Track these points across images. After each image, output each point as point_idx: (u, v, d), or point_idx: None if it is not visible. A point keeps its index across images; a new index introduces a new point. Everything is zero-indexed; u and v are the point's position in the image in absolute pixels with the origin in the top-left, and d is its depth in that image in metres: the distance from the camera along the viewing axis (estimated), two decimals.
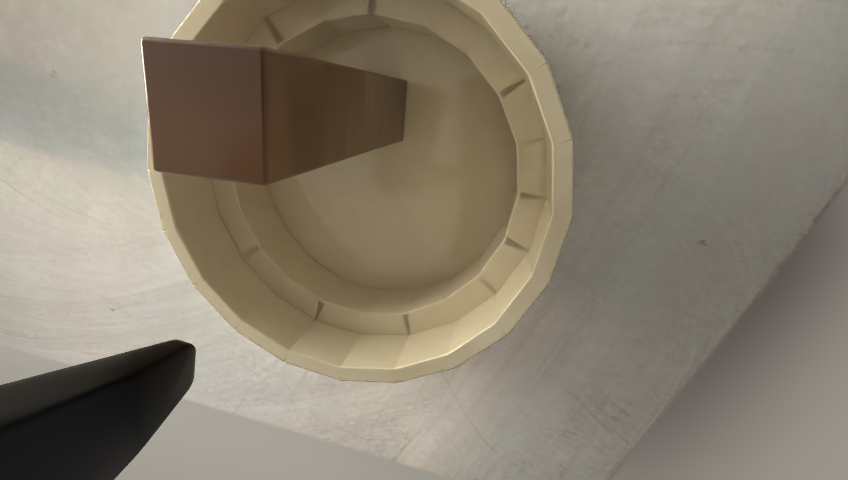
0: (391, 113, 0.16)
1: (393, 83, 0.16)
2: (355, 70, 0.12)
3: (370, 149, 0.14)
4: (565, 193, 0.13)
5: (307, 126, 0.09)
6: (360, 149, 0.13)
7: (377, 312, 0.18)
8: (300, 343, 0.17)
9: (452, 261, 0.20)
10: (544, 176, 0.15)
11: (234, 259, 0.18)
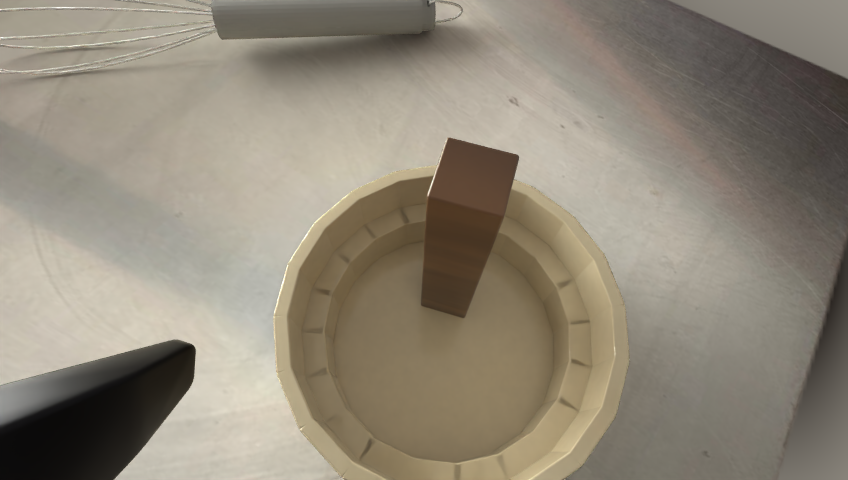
0: None
1: None
2: None
3: (476, 287, 0.19)
4: (623, 341, 0.18)
5: None
6: (480, 276, 0.18)
7: (428, 459, 0.18)
8: (358, 463, 0.16)
9: (492, 435, 0.21)
10: (589, 349, 0.20)
11: (301, 375, 0.19)
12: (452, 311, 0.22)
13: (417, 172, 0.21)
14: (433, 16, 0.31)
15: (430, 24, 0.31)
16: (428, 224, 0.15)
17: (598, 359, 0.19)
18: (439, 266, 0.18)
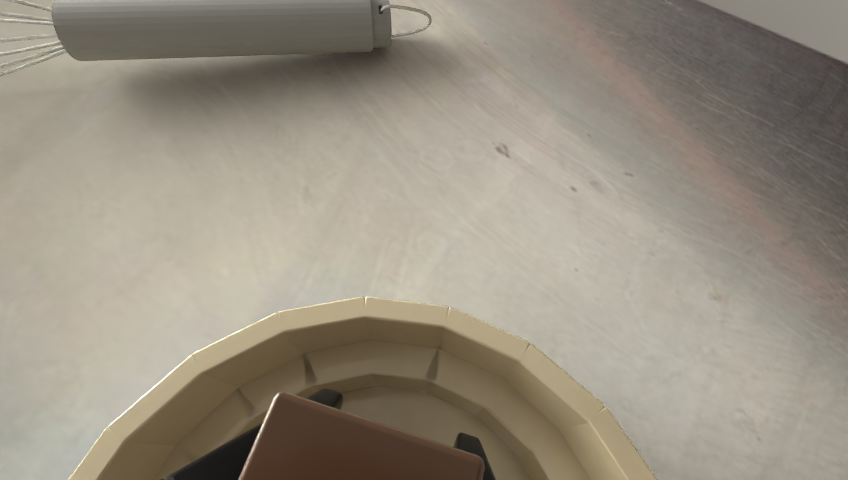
0: None
1: None
2: None
3: None
4: None
5: None
6: None
7: None
8: None
9: None
10: None
11: None
12: None
13: (318, 313, 0.11)
14: (388, 28, 0.22)
15: (385, 39, 0.22)
16: None
17: None
18: None
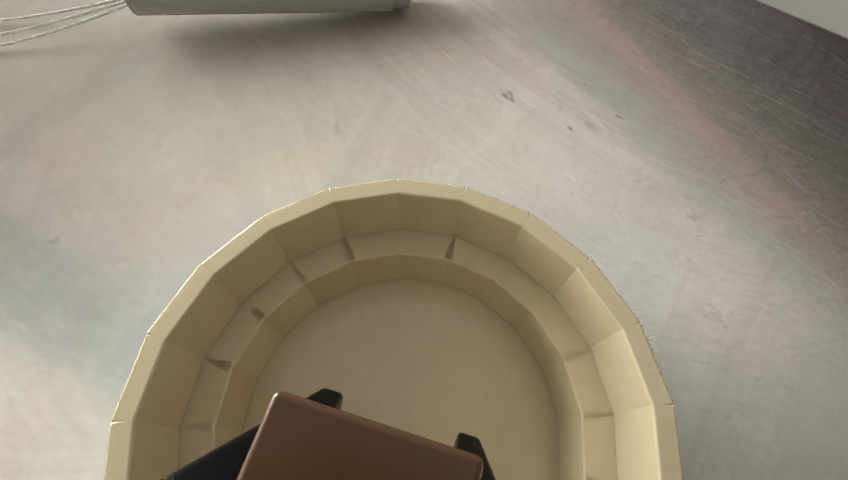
0: None
1: None
2: None
3: None
4: (673, 469, 0.11)
5: None
6: None
7: None
8: None
9: None
10: (613, 460, 0.13)
11: None
12: None
13: (361, 190, 0.14)
14: None
15: None
16: None
17: None
18: None
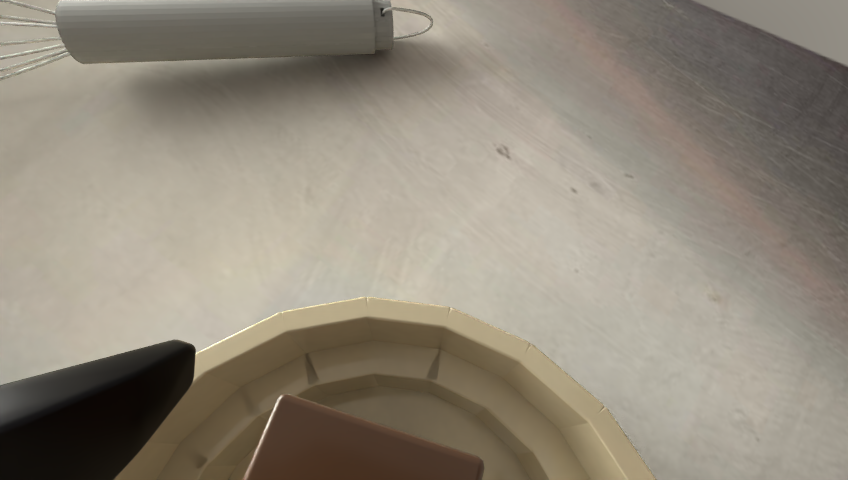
0: None
1: None
2: None
3: None
4: None
5: None
6: None
7: None
8: None
9: None
10: None
11: None
12: None
13: (321, 313, 0.11)
14: (390, 30, 0.22)
15: (387, 41, 0.22)
16: None
17: None
18: None
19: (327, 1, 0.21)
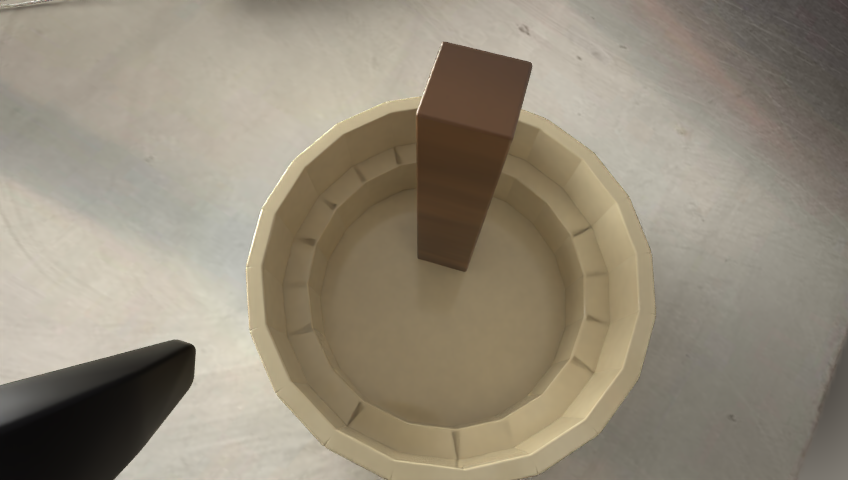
0: None
1: None
2: None
3: None
4: (648, 294, 0.15)
5: None
6: (483, 221, 0.15)
7: (424, 425, 0.16)
8: (344, 430, 0.14)
9: (496, 398, 0.19)
10: (607, 304, 0.18)
11: (281, 333, 0.17)
12: (452, 264, 0.20)
13: (411, 102, 0.18)
14: None
15: None
16: (420, 154, 0.12)
17: (617, 315, 0.17)
18: (435, 209, 0.15)
19: None
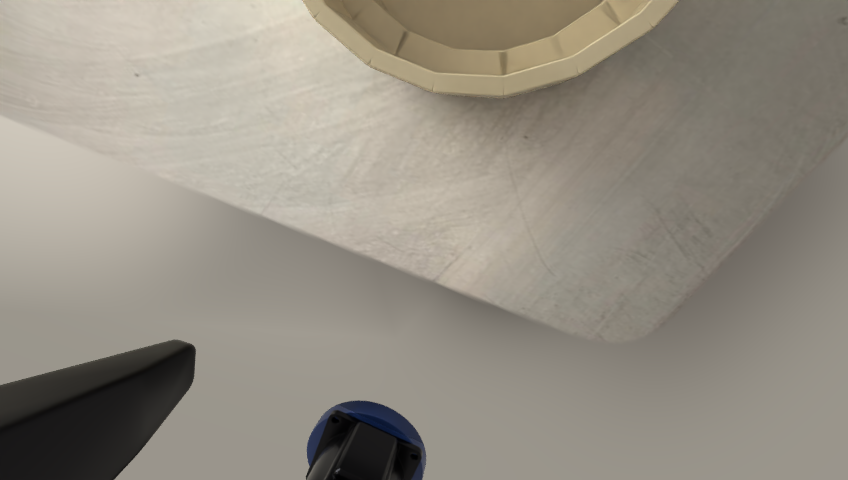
0: None
1: None
2: None
3: None
4: None
5: None
6: None
7: (470, 49, 0.16)
8: None
9: (553, 23, 0.17)
10: None
11: None
12: None
13: None
14: None
15: None
16: None
17: None
18: None
19: None
